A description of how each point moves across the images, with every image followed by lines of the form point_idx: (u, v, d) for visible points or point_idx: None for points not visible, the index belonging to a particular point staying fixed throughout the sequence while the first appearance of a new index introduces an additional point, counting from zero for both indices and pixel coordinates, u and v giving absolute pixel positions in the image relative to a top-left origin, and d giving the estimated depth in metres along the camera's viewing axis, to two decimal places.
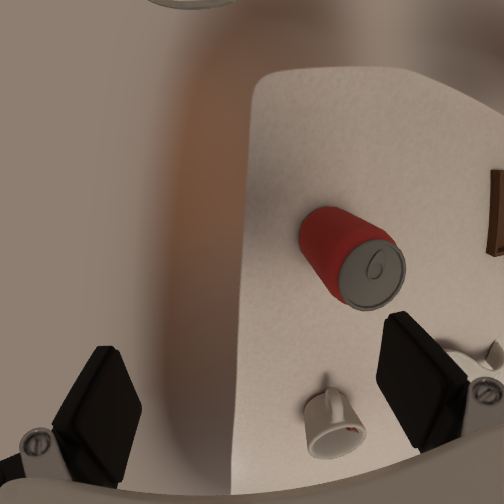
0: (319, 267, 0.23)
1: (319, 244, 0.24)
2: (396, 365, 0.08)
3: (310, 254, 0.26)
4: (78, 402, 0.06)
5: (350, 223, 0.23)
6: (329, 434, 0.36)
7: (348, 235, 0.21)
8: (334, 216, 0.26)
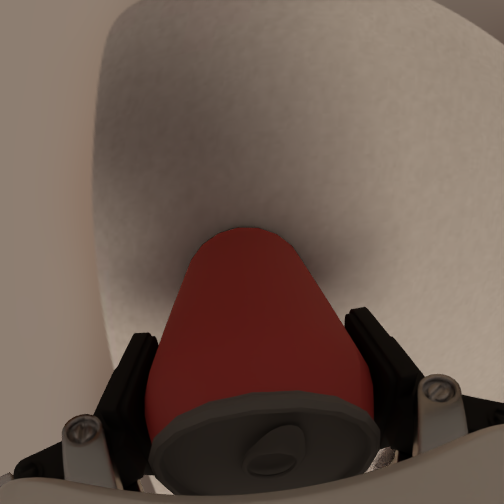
0: None
1: None
2: None
3: None
4: (124, 386, 0.07)
5: (224, 298, 0.08)
6: None
7: (187, 355, 0.06)
8: (221, 260, 0.11)
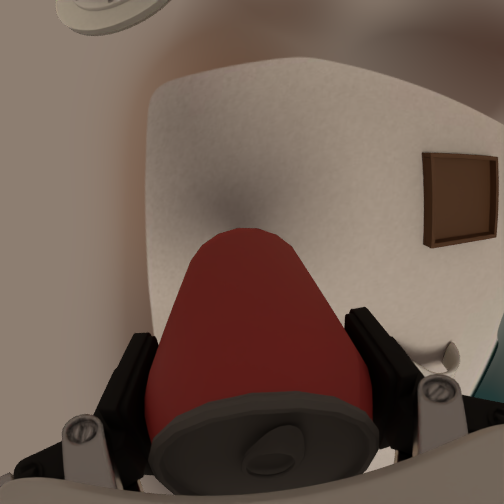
0: None
1: None
2: None
3: None
4: (124, 386, 0.07)
5: (224, 299, 0.08)
6: None
7: (186, 356, 0.06)
8: (220, 260, 0.11)
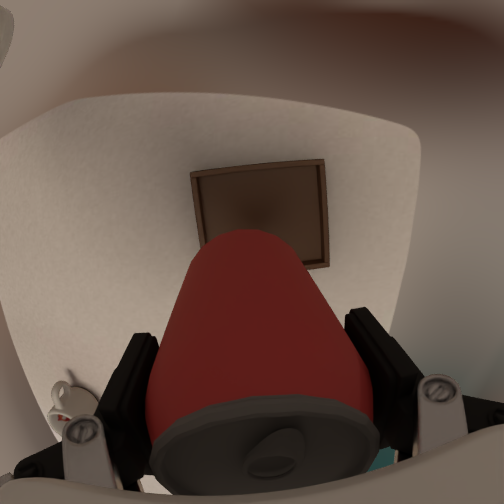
0: None
1: None
2: None
3: None
4: (124, 386, 0.07)
5: (224, 302, 0.08)
6: None
7: (187, 358, 0.06)
8: (221, 262, 0.11)
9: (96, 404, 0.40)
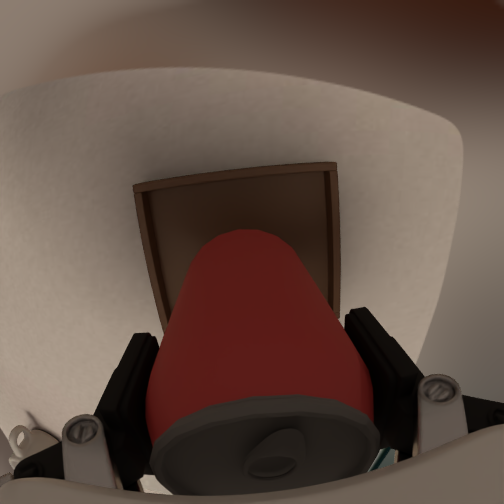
0: None
1: None
2: None
3: None
4: (124, 386, 0.07)
5: (224, 302, 0.08)
6: None
7: (187, 358, 0.06)
8: (221, 262, 0.11)
9: None
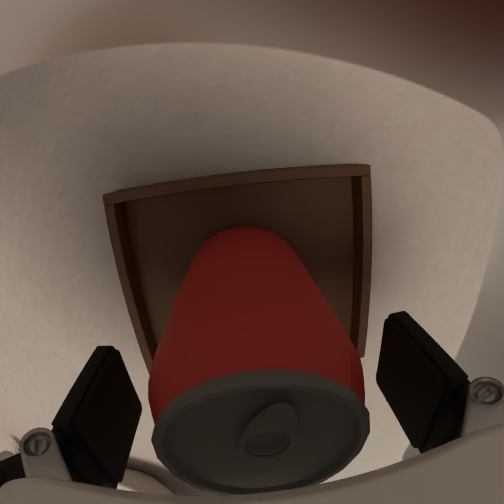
0: None
1: None
2: (396, 365, 0.08)
3: None
4: (78, 402, 0.06)
5: (223, 289, 0.09)
6: None
7: (188, 339, 0.07)
8: (221, 255, 0.12)
9: None
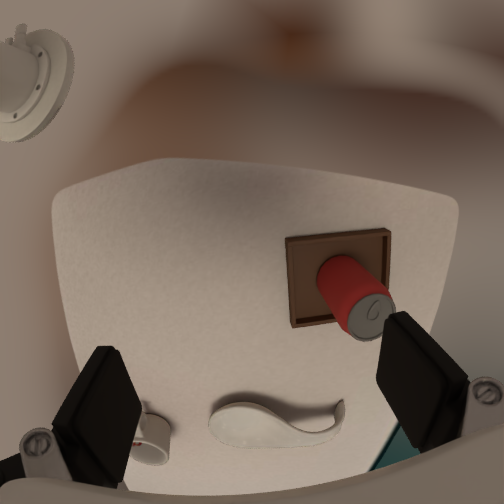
0: (333, 309, 0.32)
1: (334, 292, 0.32)
2: (396, 365, 0.08)
3: (326, 297, 0.34)
4: (78, 402, 0.06)
5: (357, 278, 0.31)
6: (154, 446, 0.44)
7: (355, 289, 0.29)
8: (345, 268, 0.34)
9: (169, 428, 0.46)
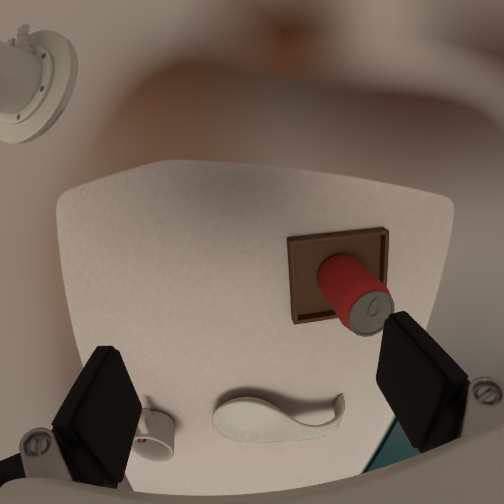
0: (335, 306, 0.33)
1: (335, 289, 0.34)
2: (396, 365, 0.08)
3: (327, 294, 0.36)
4: (78, 402, 0.06)
5: (357, 276, 0.32)
6: (158, 442, 0.46)
7: (356, 287, 0.31)
8: (345, 266, 0.35)
9: (173, 424, 0.47)
